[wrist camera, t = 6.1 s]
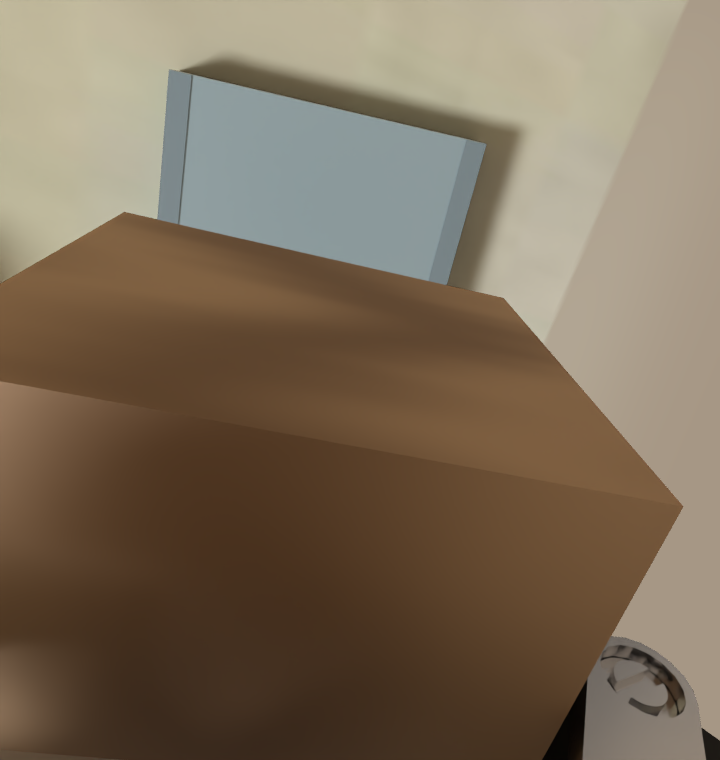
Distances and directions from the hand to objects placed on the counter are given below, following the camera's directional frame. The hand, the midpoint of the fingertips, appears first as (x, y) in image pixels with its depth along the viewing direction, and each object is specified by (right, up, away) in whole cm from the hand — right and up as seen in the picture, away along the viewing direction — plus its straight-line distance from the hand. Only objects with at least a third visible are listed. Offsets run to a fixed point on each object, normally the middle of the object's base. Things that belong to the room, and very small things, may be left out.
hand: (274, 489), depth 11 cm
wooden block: (0, +1, +1) cm, 1 cm away
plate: (-1, +7, +16) cm, 17 cm away
